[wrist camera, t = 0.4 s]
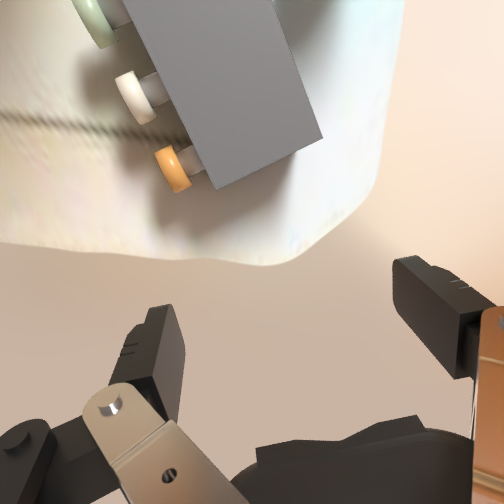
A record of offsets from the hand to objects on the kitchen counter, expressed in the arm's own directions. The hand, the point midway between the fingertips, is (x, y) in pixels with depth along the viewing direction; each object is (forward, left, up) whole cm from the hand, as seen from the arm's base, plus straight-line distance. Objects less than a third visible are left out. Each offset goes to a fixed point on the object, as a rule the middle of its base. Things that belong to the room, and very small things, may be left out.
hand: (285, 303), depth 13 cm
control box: (-12, +4, -26) cm, 29 cm away
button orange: (-6, -2, -24) cm, 25 cm away
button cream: (-12, -2, -24) cm, 27 cm away
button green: (-19, -2, -24) cm, 30 cm away
